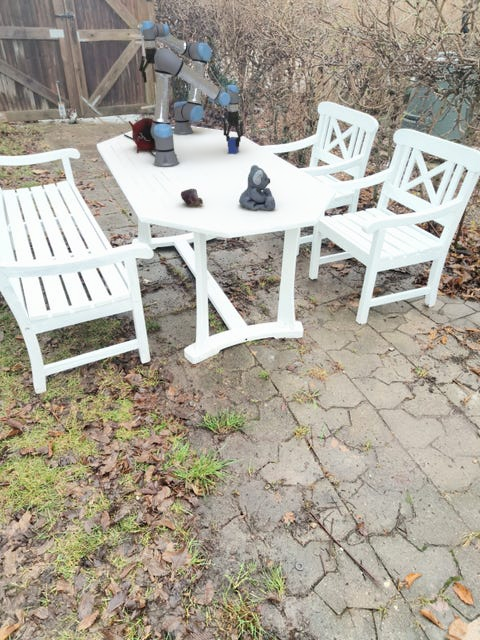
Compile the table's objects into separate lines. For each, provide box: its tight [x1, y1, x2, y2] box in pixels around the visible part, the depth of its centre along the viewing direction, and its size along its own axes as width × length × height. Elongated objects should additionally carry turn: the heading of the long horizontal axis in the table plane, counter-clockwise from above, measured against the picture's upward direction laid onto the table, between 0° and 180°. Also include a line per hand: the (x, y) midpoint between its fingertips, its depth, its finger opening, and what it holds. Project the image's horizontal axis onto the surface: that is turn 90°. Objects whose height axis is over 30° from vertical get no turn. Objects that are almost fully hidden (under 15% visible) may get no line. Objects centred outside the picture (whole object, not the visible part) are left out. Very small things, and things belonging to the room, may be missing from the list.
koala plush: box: [238, 164, 276, 211], centre depth 224 cm, size 17×18×20 cm
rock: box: [180, 188, 204, 207], centre depth 229 cm, size 12×9×10 cm
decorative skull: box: [128, 117, 156, 154], centre depth 321 cm, size 21×24×25 cm
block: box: [227, 136, 240, 155], centre depth 314 cm, size 7×5×10 cm
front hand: (233, 146), depth 315 cm, fingers open, 6 cm apart
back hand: (154, 82), depth 319 cm, fingers open, 13 cm apart
